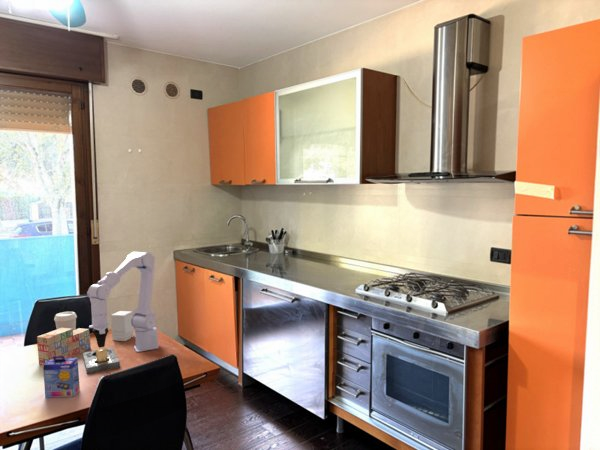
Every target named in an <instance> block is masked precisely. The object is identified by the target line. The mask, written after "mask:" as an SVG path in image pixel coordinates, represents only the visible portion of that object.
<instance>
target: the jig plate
mask: <svg viewBox="0 0 600 450" xmlns="http://www.w3.org/2000/svg"><path fill="white" fill-rule="evenodd" d="M106 349H107V359H108V362H105V363H100V364H99V363H97V357H96V350H91V351H84V352H82V359H83V363H84V367H85V371H86V374H87V375H90V374H94V373H100V372H104V371H109V370H113V369H114V370H115V369H119V368H120V367H121V365H120V363H121V362H120V360H119V357H118V355H117V353H116V351H115V349H114V347H109V348H106Z"/></svg>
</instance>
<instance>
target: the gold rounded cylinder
mask: <svg viewBox="0 0 600 450" xmlns="http://www.w3.org/2000/svg"><path fill="white" fill-rule="evenodd" d="M95 351H96V357H97V363H99V364H100V363H105V362H108V359H107V348H105V347H100V348H97V349H96V350H95Z"/></svg>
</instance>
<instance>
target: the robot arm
mask: <svg viewBox="0 0 600 450" xmlns="http://www.w3.org/2000/svg"><path fill="white" fill-rule="evenodd" d="M132 268H136V269H137V270H138V271H139V272H140V273H141V275H140V283H139V284H140V285H139V293H138V304H137V307H136V308H135V309H134V310H133V311H132V312H133V316H132V318H131V325H132V326H133V327H134V338H135V345H134V346H133V348H134V350H135V351H136V353H141V352H145V351H149V350H151V351H152V350H155V349H159V335H158V334H159V333H158V329H157V328H158V327H156V322H157V320H156V315H155V314H156V312H155V311H154V310H153V309H152V308H151V307H152V297H153V286H154V277H155V256H154V255H153V253H152V252H149V251H131V252H130V253H129V254H127V256H126V259H125V260H124V261H123V262H122V263H121V264H119V266H118V267H117V268H116V269H115V270H114V271H108V272H106V273H105V275H104V276H103V277H102V278H101V279H100V280H98V281H97V282H96V283H94V284H92V285H90V286H89V288H88V290H87V292H86V294H87V295H86V296H87V297H88V298H89V302H90V304H91V305H90V308H91V325H89V326H88V329H92V330H91V331H92V333H93V335H94V336H95V340H96V344H97V346H98V349H101V348H105V346H106V345H105V344H106V339H107V335H108V333H109V328H108V326H109V322H108V302H107V298H108V297H109V295H110V293H111V291H112V289H114V288H115V287H116V286H117V285H118V284H119V283H120V282H121V277H123V276H124V275H125V274H126V273H127V272H129V271H130V270H131V269H132Z"/></svg>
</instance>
